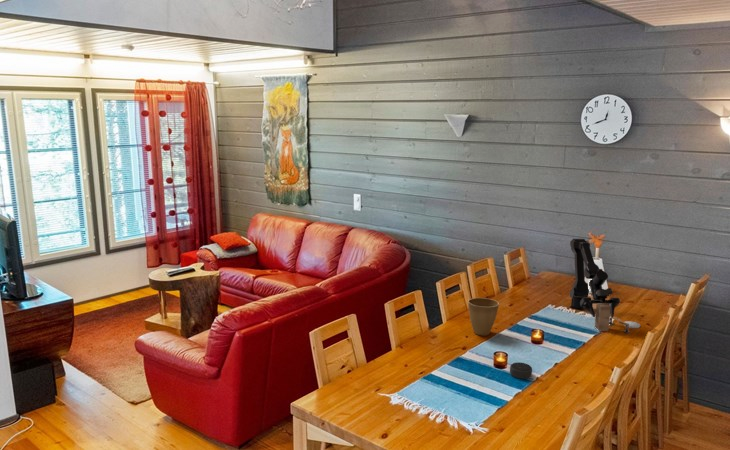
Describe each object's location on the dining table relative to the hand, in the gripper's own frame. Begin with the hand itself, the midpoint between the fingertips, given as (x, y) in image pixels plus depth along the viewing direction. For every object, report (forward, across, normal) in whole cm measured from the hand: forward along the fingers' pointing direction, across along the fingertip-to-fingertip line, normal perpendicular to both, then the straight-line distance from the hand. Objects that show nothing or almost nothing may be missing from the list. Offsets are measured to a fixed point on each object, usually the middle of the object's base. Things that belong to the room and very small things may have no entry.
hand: (603, 317), depth 298 cm
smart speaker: (+42, -56, -32) cm, 77 cm away
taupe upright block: (+4, 0, +6) cm, 7 cm away
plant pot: (+8, -62, +1) cm, 63 cm away
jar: (-45, +21, +54) cm, 73 cm away
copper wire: (+3, +9, +7) cm, 12 cm away
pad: (0, +18, +10) cm, 20 cm away
